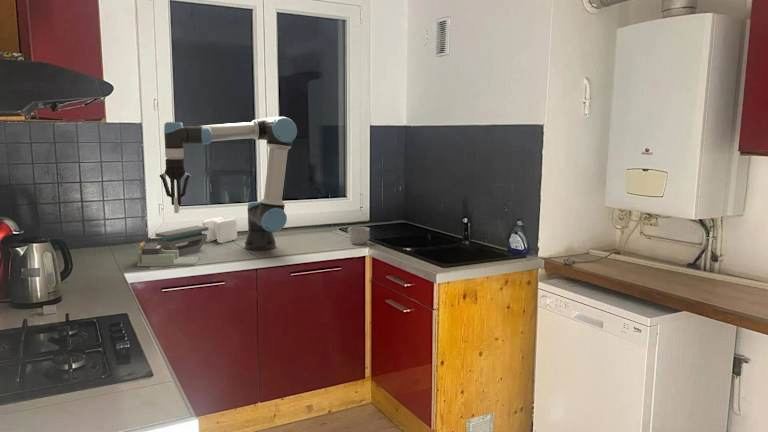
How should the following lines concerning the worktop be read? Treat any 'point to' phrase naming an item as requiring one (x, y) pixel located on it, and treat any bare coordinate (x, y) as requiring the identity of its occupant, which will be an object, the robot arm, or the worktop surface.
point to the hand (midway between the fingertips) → (176, 212)
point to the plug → (152, 250)
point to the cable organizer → (221, 229)
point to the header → (164, 258)
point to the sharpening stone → (183, 239)
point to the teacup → (358, 235)
